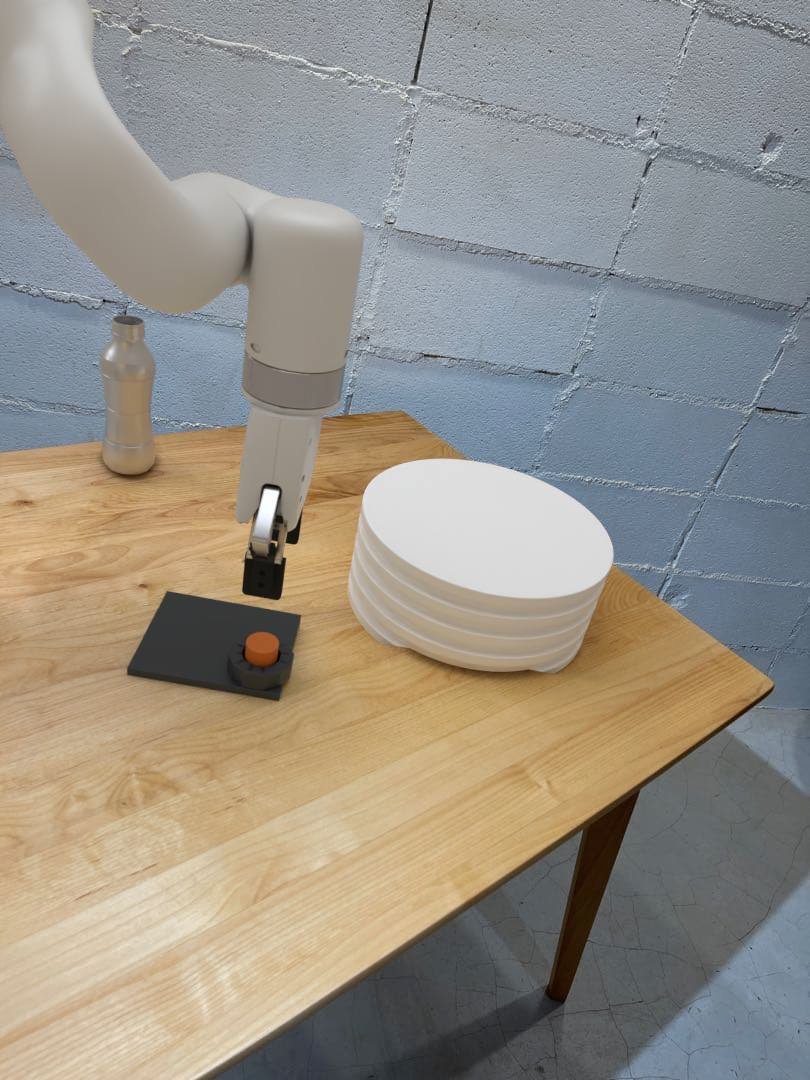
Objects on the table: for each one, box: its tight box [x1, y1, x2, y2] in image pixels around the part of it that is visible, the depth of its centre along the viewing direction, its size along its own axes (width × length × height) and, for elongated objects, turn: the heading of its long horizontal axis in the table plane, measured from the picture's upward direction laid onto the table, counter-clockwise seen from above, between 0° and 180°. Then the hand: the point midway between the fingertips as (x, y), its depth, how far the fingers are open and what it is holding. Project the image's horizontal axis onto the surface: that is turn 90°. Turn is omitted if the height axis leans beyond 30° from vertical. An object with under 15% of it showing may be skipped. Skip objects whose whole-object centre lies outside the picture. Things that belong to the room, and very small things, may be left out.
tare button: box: [245, 632, 279, 667], centre depth 76 cm, size 3×3×2 cm
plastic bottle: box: [99, 314, 157, 476], centre depth 101 cm, size 6×7×20 cm
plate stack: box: [346, 458, 615, 675], centre depth 92 cm, size 28×28×12 cm
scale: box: [126, 590, 302, 702], centre depth 79 cm, size 14×12×4 cm
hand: (271, 565), depth 71 cm, fingers open, 7 cm apart
